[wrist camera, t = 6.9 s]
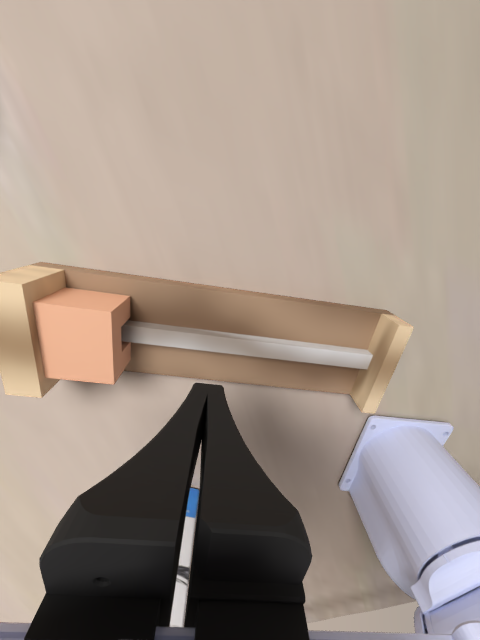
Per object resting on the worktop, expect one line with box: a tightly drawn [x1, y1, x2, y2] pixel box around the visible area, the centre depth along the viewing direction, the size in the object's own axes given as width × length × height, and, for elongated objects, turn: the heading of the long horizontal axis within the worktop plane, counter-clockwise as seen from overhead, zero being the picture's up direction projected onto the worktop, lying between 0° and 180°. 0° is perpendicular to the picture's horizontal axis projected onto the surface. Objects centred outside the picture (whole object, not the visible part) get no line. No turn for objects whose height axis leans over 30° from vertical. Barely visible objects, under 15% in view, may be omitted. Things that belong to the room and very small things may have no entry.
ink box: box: [170, 488, 199, 627], centre depth 21 cm, size 8×5×12 cm, turn 158°
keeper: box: [33, 287, 131, 384], centre depth 16 cm, size 5×4×3 cm
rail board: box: [0, 262, 414, 414], centre depth 17 cm, size 7×24×4 cm, turn 81°
